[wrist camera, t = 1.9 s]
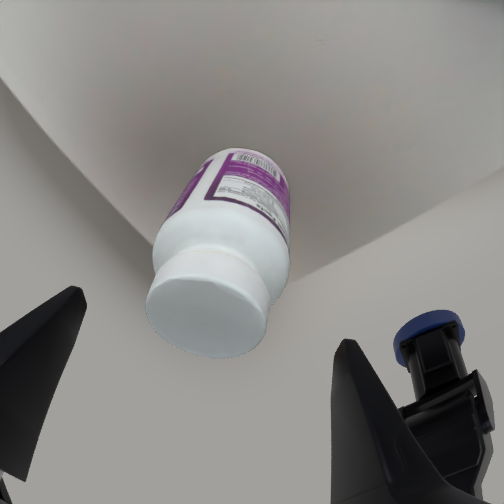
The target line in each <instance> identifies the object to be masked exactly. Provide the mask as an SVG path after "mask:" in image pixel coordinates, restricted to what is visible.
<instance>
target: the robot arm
mask: <svg viewBox="0 0 504 504" xmlns="http://www.w3.org/2000/svg"><path fill="white" fill-rule="evenodd" d="M86 309H87V303H86V300H85V297H84V293H83V290H82V289H81V288H80V287H76V286H70V287H68V288H66V289H65V290H63V291H62V292H60V293H58V294H57V295H55V296H54V297H52V298H51V299H49V300H48V301H46V302H45V303H43V304H42V305H40V306H39V307H37V308H35V309H34V310H32V311H31V312H29V313H28V314H26V315H25V316H24V317H22V318H21V319H19V320H18V321H16V322H15V323H14V324H12V325H10V326H9V327H7V328H6V329H5V330H3V331H2V332H0V504H12V502H11V499H10V497H9V494H8V492H7V489H6V486H5V484H4V481H3V478H2V475H3V472H6V473H8V474H10V475H12V476H14V477H16V478H18V479H20V480H22V481H24V482H25V481H26V478H27V475H28V471H29V468H30V464H31V461H32V458H33V454H34V451H35V448H36V444H37V441H38V437H39V435H40V432H41V429H42V426H43V423H44V420H45V417H46V414H47V411H48V409H49V406H50V403H51V401H52V398H53V395H54V393H55V390H56V388H57V385H58V382H59V380H60V378H61V375H62V373H63V370H64V368H65V366H66V363H67V361H68V358H69V356H70V354H71V352H72V349H73V347H74V344H75V341H76V338H77V335H78V332H79V330H80V327H81V324H82V321H83V318H84V315H85V312H86ZM398 345H399V349H400V352H401V354H402V357H403V359H404V362H405V365H406V367H407V370H408V372H409V373H411V377H412V382H413V387H414V392H415V397H416V402H414V403H412V404H409V405H407V406H405V407H404V406H403V407H401V408H399V409H397V407H396V406H395V404H394V402H393V400H392V399H391V397H390V395H389V394H388V392H387V390H386V389H385V387H384V386H383V384H382V383H381V381H380V379H379V377H378V376H377V374H376V372H375V371H374V369H373V367H372V366H371V364H370V363H369V361H368V359H367V358H366V356H365V355H364V353H363V351H362V350H361V348H360V346H359V345H358V343H357V342H356V341H355V340H352V339H343V340H342V342H341V343H340V345H339V347H338V349H337V351H336V352H335V356H334V363H333V377H332V390H331V445H332V448H331V449H332V450H331V451H332V452H331V453H332V454H331V456H332V458H331V459H332V460H331V504H490V503H487V502H485V501H483V496H482V488H481V484H482V481H483V479H484V476H485V474H486V471H487V468H488V466H489V463H490V460H491V457H492V454H493V445H492V440H491V435H490V432H491V431H493V430H495V424H494V412H493V403H492V398H491V395H490V392H489V390H488V387H487V384H486V382H485V381H484V379H483V377H482V376H481V375H480V373H479V372H478V370H477V369H476V370H474V371H472V373H471V374H469V375H468V373H467V370H466V367H465V364H464V361H463V358H462V355H461V348H460V336H459V326H458V323H457V321H456V320H453V321H450V322H448V323H446V324H443V325H441V326H439V327H436V328H434V329H431V330H429V331H426V332H424V333H421V334H419V335H416V336H414V337H411V338H408V339H406V340H403V341H401V342H399V344H398ZM475 395H477V397H475V398H474V396H475Z"/></svg>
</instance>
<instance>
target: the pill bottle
mask: <svg viewBox="0 0 504 504" xmlns="http://www.w3.org/2000/svg"><path fill="white" fill-rule="evenodd" d="M153 266H154V271H155V274H156V276H155V278H154V280H153V283H152V285H151V288H150V290H149V293H148V295H147V298H146V305H145V309H146V315H147V318H148V320H149V322H150V324H151V326H152V327H153V329H154V330H155V331H156V332H157V333H158V334H159V335H160V336H161V337H162V338H163V339H164V340H166V341H167V342H168V343H170V344H171V345H173V346H175V347H176V348H178V349H180V350H183V351H185V352H187V353H190V354H193V355H197V356H202V357H209V358H230V357H235V356H240V355H242V354H245V353H247V352H249V351H251V350H252V349H254V348H255V347H256V346H257V345H258V344H259V343H260V342H261V340H262V339H263V337H264V334H265V332H266V326H267V319H268V313H269V309H270V306H271V305H272V304H273V303H274V302H275V301H276V300H277V299H278V298H279V296H280V295H281V293H282V292H283V290H284V288H285V286H286V283H287V279H288V276H289V268H290V195H289V187H288V183H287V180H286V178H285V176H284V174H283V172H282V171H281V169H280V168H279V167H278V166H277V165H276V163H275V162H274V161H273V160H272V159H270V158H269V157H267V156H265V155H264V154H262V153H259V152H257V151H253V150H249V149H243V148H231V149H227V150H223V151H220V152H218V153H216V154H214V155H212V156H211V157H209V158H208V159H207V160H206V161H205V162H204V163H203V164H202V165H201V166H200V168H199V169H198V170H197V172H196V173H195V175H194V176H193V178H192V179H191V181H190V182H189V184H188V185H187V187H186V188H185V190H184V191H183V193H182V194H181V196H180V198H179V199H178V201H177V202H176V204H175V205H174V207H173V208H172V210H171V211H170V213H169V215H168V216H167V218H166V220H165V221H164V223H163V224H162V226H161V227H160V229H159V231H158V233H157V236H156V239H155V242H154V246H153Z"/></svg>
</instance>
